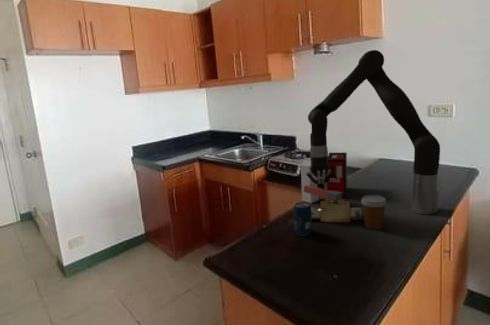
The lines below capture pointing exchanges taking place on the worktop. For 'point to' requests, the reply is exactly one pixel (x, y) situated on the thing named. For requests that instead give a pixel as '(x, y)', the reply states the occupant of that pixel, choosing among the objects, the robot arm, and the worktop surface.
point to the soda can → (302, 218)
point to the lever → (323, 192)
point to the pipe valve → (336, 211)
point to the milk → (307, 181)
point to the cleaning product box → (338, 173)
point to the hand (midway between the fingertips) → (320, 191)
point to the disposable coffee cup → (373, 210)
